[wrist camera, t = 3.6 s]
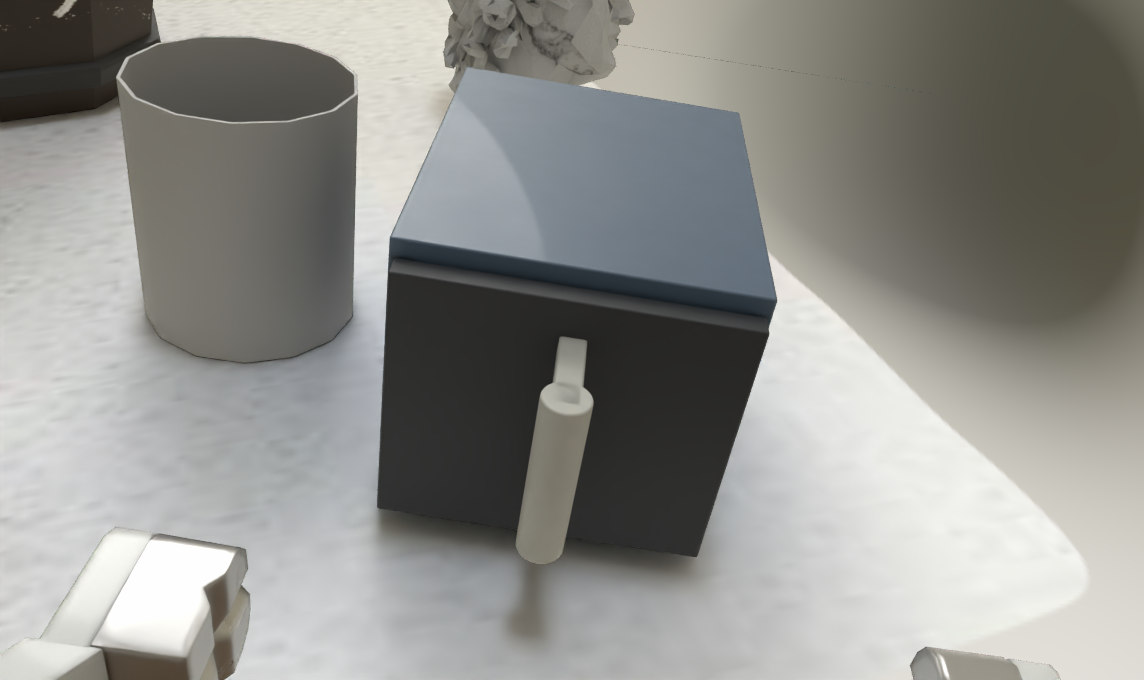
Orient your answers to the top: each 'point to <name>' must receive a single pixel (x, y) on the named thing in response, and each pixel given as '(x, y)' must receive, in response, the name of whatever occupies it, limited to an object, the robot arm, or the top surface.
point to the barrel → (67, 52)
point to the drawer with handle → (559, 408)
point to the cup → (242, 193)
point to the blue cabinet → (590, 195)
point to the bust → (536, 38)
